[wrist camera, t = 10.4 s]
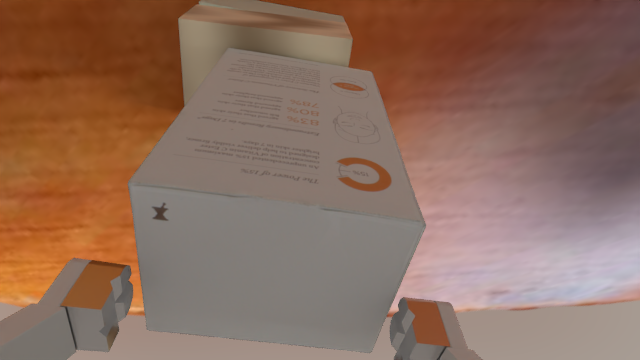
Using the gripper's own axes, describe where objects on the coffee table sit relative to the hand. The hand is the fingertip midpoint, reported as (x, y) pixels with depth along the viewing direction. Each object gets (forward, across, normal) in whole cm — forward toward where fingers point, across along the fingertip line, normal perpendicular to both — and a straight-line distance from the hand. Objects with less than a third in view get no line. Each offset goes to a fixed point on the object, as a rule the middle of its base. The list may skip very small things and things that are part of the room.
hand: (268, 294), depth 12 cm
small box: (+13, 0, 0) cm, 13 cm away
